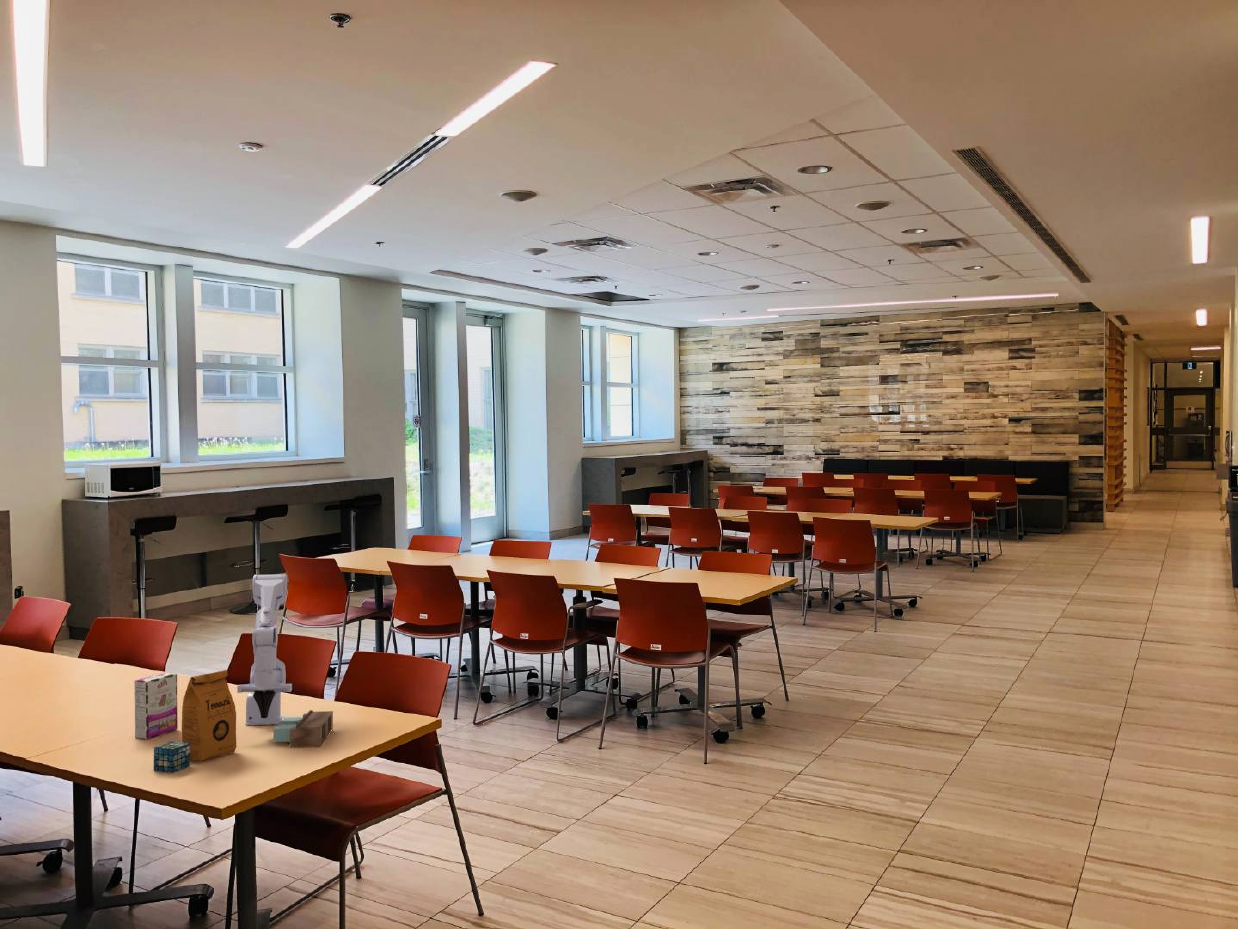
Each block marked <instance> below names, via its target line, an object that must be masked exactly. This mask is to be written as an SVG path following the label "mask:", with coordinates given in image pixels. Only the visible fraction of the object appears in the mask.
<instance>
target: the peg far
mask: <svg viewBox="0 0 1238 929" xmlns="http://www.w3.org/2000/svg"><path fill="white" fill-rule="evenodd" d="M302 718H303V716H295V717H293V716H291V717H290V716H289V717H286V716H284V719H283V720H282V721H281V722H280V725H296V722H297V721H298V720H302Z"/></svg>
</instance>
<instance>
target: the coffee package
mask: <svg viewBox="0 0 1238 929" xmlns="http://www.w3.org/2000/svg"><path fill="white" fill-rule="evenodd" d="M226 677H228V671H227V669H224V670H219V671H215V672H211V673H210V672H209V673H205V674H204V673H203V674H198V675H195V676H190V679H189V681H188V684H187V687H186V690H185V692H184V696H183V700H182V708H181V709H182V710H181V742H184V743H190V760H193V761H206V760H210V759H215V758H220V757H224V756H226V755H229V754H233V753H235V752H236V749H237V748H238V747H237V746H238V745H237V711H236V705H235V701H234V698H233V696H232V693H231V691H230V689H229V684H228V682H227V679H226Z"/></svg>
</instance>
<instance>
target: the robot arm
mask: <svg viewBox="0 0 1238 929" xmlns="http://www.w3.org/2000/svg"><path fill="white" fill-rule="evenodd" d="M251 587H252V588H251V589H252V596H253V600H254V604H256V605H258V606H260V609H258V611H257V612H256V615H255V616H256V617H255V618H256V619H255V626H254V627H255V628H254V629H252V630H253V631H252V637H251V639H252V648H253V655H254V656H253V657H254V659H253V660H254V661H253V662H254V663H253V664H252V665H251V667H250V668H251V670H250V676H249V677H250V678H249V683H246V684H238V685H237V694H240V693H241V694H242V693H248V694H247V696H246V702H245V703H246V704H245V726H261V725H262V726H266V725H267V726H268V725H269V726H270V725H271V724H275V725H280V724H281V721H282V719H283V718H284V717H285V716H284V715H281V712H282V711H281V709H282V708H281V707H282V706H281V704H282V702H281V700H282V694H281V693H283V692H286V693H291V692H292V690H293V683H286V682H287V681H286V677H287V674H286V672H287V671H286V665H285V663H284V662H283V661H282V660H280V659H279V658H277V646H278V642H279V640H278V635H279V634H278V633H279V632H278V613H279V610H280V606H281V605H283V604H285V603H286V602H287V595H288V593H287V592H288V575H287V574H286V573H282V574H278V573H277V574H254V575H253V577H252V586H251Z"/></svg>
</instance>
